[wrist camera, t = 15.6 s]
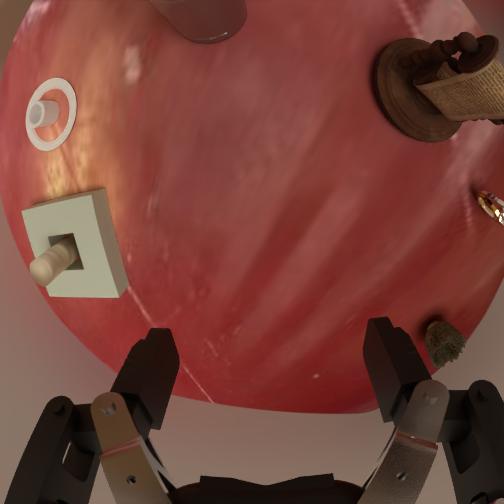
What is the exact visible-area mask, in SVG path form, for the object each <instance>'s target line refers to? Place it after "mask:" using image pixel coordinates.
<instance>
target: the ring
mask: <svg viewBox="0 0 504 504" xmlns="http://www.w3.org/2000/svg"><path fill="white" fill-rule="evenodd" d="M475 196H476V199H477V203H478V204H479V205H480V206H481V208H482V209H483V210H484V211H485V212H486V213H487V214H488V215H489V216H490V217H491V218H492V219H493V220H494V221H496V222H497V223H499V224H500V225H502V226H504V202H503V201H501V200H500V199H498V198H497V197H495V196H493V195H492V194H490V193H488V192H486V191H483V190H479V191H478V192H477V194H476V195H475ZM488 198H489V199H491V200H492V201H494V202H495V203H497V204H499V205H500V206H502V207H499V208H500V209H501V211H500V212H498V210H497V209H496V207H495V206H494V205H493V203H492V202H491V201H490V200H489V199H488ZM484 201H485V202H486V203H487V204H488V205H489V206H490V207H491V208H492V209H493V210H494V211H495V213H496V214H495V213H494V212H492V211H491V210H490V209H489V208H488V207H487V206H486V205H485V203H484Z"/></svg>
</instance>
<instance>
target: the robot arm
mask: <svg viewBox="0 0 504 504" xmlns="http://www.w3.org/2000/svg"><path fill="white" fill-rule="evenodd" d="M148 1H149V2H150V3H151V4H152V5H153V6H154V7H155V8H156V9H157V10H158V11H159V12H160V13H161V14H162V15H163V16H164V17H165V18H166V19H167V20H168V21H169V22H170V23H171V24H172V25H173V26H174V27H175V28H176V29H177V30H178V31H179V32H180V33H181V34H182V35H183V36H184V37H185V38H187V39H189V40H191V41H193V42H197V43H203V44H209V43H216V42H220V41H223V40H225V39H228V38H229V37H231V36H233V35H234V34H235V33H236V32H237V31H239V30H240V28H241V27H242V25H243V24H244V22H245V19H246V14H247V11H246V4H245V0H148ZM127 357H128V358H126V360H125V362H124V365H123V366H122V368H121V370H120V372H119V374H118V376H117V378H116V380H115V382H114V384H113V386H112V388H111V390H110V392H106V393H103V394H100V395H99V396H97V397H96V398H95V399H94V401H93V402H92V403H91V404H80V405H74V404H73V402H72V401H71V400H70V399H69V398H68V397H66V396H57V397H55V398H53V399H51V400H50V401H49V402H48V403H47V405H46V407H45V409H44V410H43V412H42V414H41V416H40V418H39V420H38V423H37V425H36V427H35V429H34V431H33V433H32V435H31V437H30V440H29V442H28V444H27V446H26V449H25V451H24V453H23V455H22V458H21V460H20V462H19V465H18V467H17V470H16V472H15V475H14V478H13V480H12V483H11V485H10V488H9V491H8V494H7V497H6V500H5V503H4V504H88V503H89V499H90V495H91V492H92V488H93V484H94V481H95V477H96V474H97V470H98V467H99V464H100V462H101V465H102V468H103V470H104V473H105V476H106V479H107V481H108V484H109V486H110V489H111V491H112V493H113V496H114V498H115V501H116V503H117V504H415V502H416V500H417V498H418V496H419V494H420V492H421V490H422V488H423V486H424V483H425V481H426V479H427V476H428V474H429V472H430V469H431V467H432V464H433V462H434V459H435V456H436V454H437V450H438V446H437V445H436V442H442V445H443V448H444V451H445V455H446V459H447V462H448V466H449V470H450V474H451V478H452V482H453V486H454V491H455V495H456V500H457V504H504V402H503V400H502V398H501V396H500V394H499V392H498V390H497V388H496V387H495V386H494V385H493V384H492V383H491V382H489V381H486V380H478V381H475V382H474V383H472V385H471V386H470V388H469V389H468V390H448V389H447V388H446V386H445V385H444V384H442V383H441V382H439V381H437V380H433V379H432V378H431V376H430V374H429V372H428V370H427V368H426V366H425V364H424V362H423V360H422V358H421V356H420V355H419V353H418V352H417V349H416V347H415V345H413V342H412V340H411V338H410V336H409V334H407V333H406V332H405V331H404V330H403V329H401V328H400V327H396V328H394V327H393V325H392V323H391V321H390V319H389V318H388V317H378V318H370V319H369V320H368V324H367V330H366V335H365V340H364V345H363V358H364V362H365V365H366V368H367V371H368V374H369V377H370V380H371V383H372V386H373V389H374V392H375V395H376V398H377V402H378V405H379V408H380V411H381V415H382V418H383V421H384V423H386V422H390V421H393V422H394V425H395V428H394V429H393V431H392V434H391V435H390V437H389V440H388V441H387V443H386V446H385V447H384V449H383V451H382V453H381V455H380V457H379V458H378V460H377V462H376V464H375V465H374V467H373V469H372V470H371V472H370V473H369V475H368V476H367V478H366V480H365V481H364V483H363V484H362V486H361V487H360V486H358V485H355V484H353V483H349V482H346V481H340V480H334V477H333V474H332V473H331V474H322V475H314V476H303V477H298V478H295V479H291V480H287V481H283V482H280V483H276V484H272V485H260V484H255V483H251V482H246V481H243V480H238V479H235V478H225V477H211V476H200V482H198V483H193V484H188V485H185V486H182V487H180V488H179V487H178V485H177V484H176V482H175V481H174V479H173V478H172V477H171V475H170V474H169V472H168V471H167V469H166V467H165V466H164V464H163V462H162V460H161V458H160V456H159V455H158V453H157V451H156V449H155V447H154V445H153V443H152V441H151V439H150V437H149V436H148V435H149V431H150V429H157V430H160V429H161V425H162V422H163V419H164V415H165V412H166V408H167V405H168V402H169V399H170V395H171V392H172V389H173V386H174V383H175V379H176V376H177V373H178V370H179V364H180V360H179V354H178V351H177V348H176V345H175V342H174V339H173V336H172V333H171V330H170V329H169V328H151V329H150V330H149V332H148V334H147V336H146V338H145V340H143V339H140V340H139V341H138V342H137V343H136V344H135V345H134V346H133V347H132V348H131V350H130V352H129V354H128V356H127ZM69 443H70V447H69V449H68V452H67V455H66V458H65V460H64V463H63V462H62V461H63V457H64V455H65V452H66V449H67V447H68V444H69Z"/></svg>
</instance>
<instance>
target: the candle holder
mask: <svg viewBox="0 0 504 504" xmlns="http://www.w3.org/2000/svg"><path fill="white" fill-rule="evenodd" d="M51 89H60V90H62V91H63V92H64V93H65V94H66V96H67V98H68V101H69V106H70V112H69V119H68V122H67V125H66V127H65V129H64V131H63V132H62V133H61V135H60V136H59V137H58V138H56V139H55V140H52V141H43V140H42V139H40V138H39V137H38V136H37V134H36V132H35V130H34V128H37V127H45V126H51V125H53V124H54V123H55V122H56V121H57V119H58V117H59V113H60V108H59V105H58V103H57V102H56V101H38V100H39V99H40V97H41V96H42V95H43V94H44V93H45V92H47V91H48V90H51ZM76 107H77V105H76V96H75V93H74V90H73V88H72V86H71V85H70V84H69V83H68V82H67V81H66V80H64V79H62V78H52V79H49V80H47V81H45V82H44V83H43V84H41V85H40V86H39V87H38V88H37V90H36V91H35V92H34V94H33V96H32V97H31V100H30V102H29V105H28V108H27V113H26V129H27V134H28V136H29V139H30V141H31V142H32V143H33V145H34V146H35V147H36V148H38V149H39V150H43V151H50V150H53V149H55V148H57V147H58V146H60V145H61V144H62V143H63V142H64V141H65V139H66V138H67V137H68V135H69V133H70V131H71V129H72V127H73V124H74V121H75V116H76Z"/></svg>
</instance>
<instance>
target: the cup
mask: <svg viewBox="0 0 504 504" xmlns="http://www.w3.org/2000/svg"><path fill="white" fill-rule="evenodd" d="M425 332H426V336H425V346H426V350H427V352H428V355H429V358H430V360H431V362H432V365H433V366H434V365H435V366H436V367H437V368H439V367H440V366H442V367H444V366H445V363H444V362H447V361H448V360H449V361H450V362H453V359H458V356H459V352H460V353H462V348H461V347H465V343H466V341H465V340H466V338H465V337H464V336H463V335H462V334H461V333H460V332H459V331H458V330H457V329H456V328H455V327H454V326H453V325H452V324H450V323H448V322H444V321H442V322H441V321H440V320H437V319H434V320H432V321H430V322H429V323H428V324H427V326H426V329H425Z"/></svg>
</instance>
